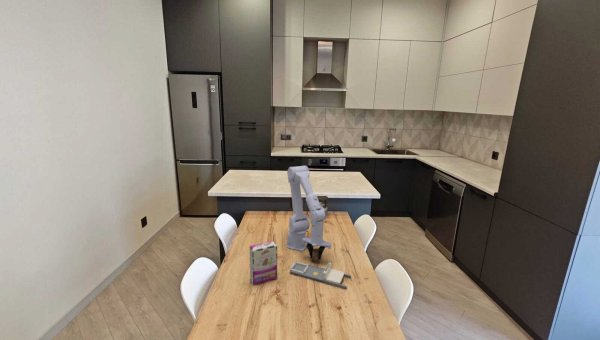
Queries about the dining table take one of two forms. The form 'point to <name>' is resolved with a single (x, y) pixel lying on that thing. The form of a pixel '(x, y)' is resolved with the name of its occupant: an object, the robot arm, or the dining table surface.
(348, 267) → the dining table surface
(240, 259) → the dining table surface
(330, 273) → the cover
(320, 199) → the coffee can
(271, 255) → the candy bar box
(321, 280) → the board
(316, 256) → the peg
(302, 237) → the robot arm
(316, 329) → the dining table surface
